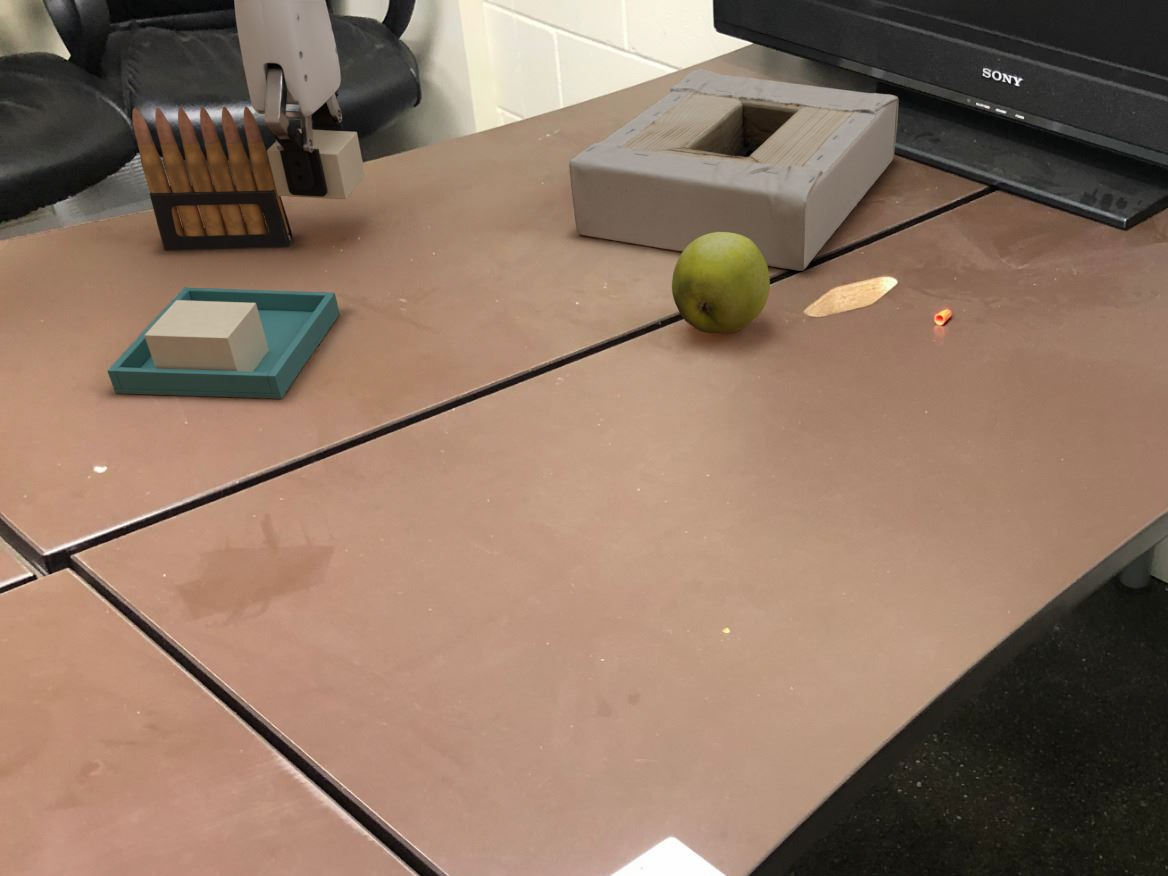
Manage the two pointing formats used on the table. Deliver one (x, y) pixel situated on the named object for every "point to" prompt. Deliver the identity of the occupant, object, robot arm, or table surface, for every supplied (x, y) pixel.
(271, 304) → the tray
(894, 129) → the hollow concrete block
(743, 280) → the apple
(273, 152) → the beige rectangular block
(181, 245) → the ammunition clip
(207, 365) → the pad
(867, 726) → the table surface
